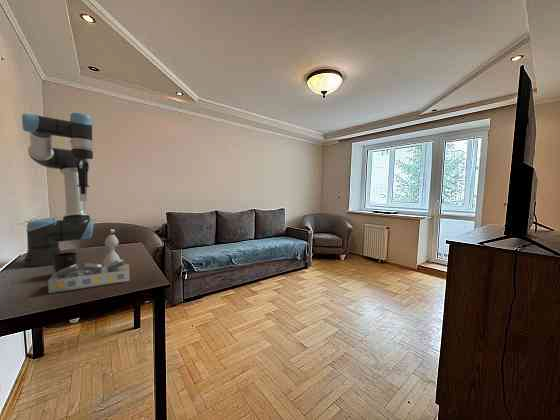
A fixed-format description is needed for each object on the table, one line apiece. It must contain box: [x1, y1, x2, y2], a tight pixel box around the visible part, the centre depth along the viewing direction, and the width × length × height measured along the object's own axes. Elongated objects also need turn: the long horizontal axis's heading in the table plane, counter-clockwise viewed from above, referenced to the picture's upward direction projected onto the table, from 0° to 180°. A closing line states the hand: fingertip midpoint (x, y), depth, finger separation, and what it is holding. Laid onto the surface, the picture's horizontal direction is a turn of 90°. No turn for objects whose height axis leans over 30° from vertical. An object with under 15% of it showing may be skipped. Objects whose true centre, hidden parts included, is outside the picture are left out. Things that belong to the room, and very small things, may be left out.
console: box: [47, 263, 131, 294], centre depth 100 cm, size 10×26×6 cm, turn 124°
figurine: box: [102, 228, 121, 267], centre depth 119 cm, size 8×8×20 cm
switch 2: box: [82, 262, 103, 272], centre depth 100 cm, size 5×6×2 cm
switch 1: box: [57, 263, 80, 277], centre depth 96 cm, size 5×6×2 cm
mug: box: [52, 251, 78, 273], centre depth 107 cm, size 8×12×10 cm
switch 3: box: [107, 258, 125, 271], centre depth 105 cm, size 5×6×2 cm
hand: (83, 201), depth 108 cm, fingers closed
